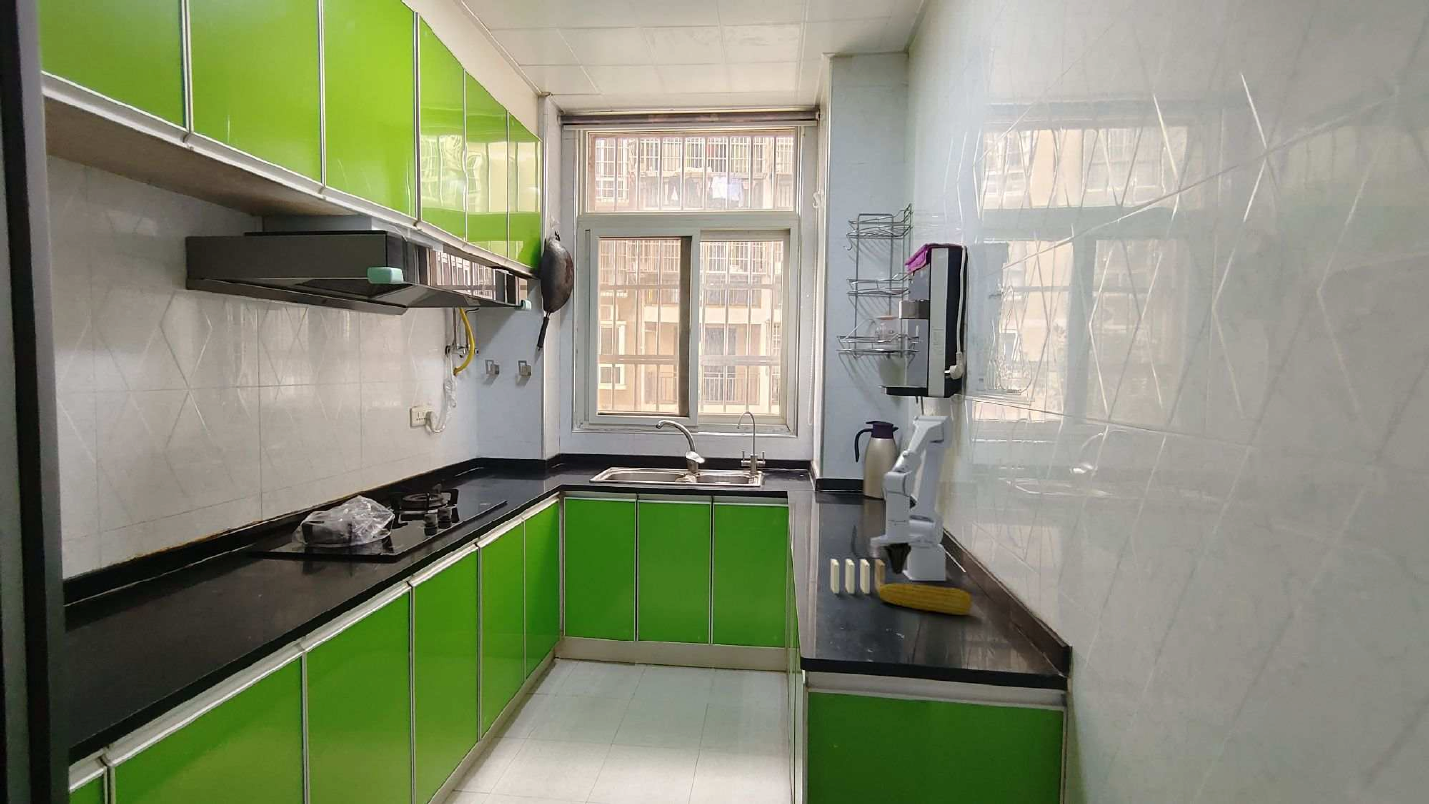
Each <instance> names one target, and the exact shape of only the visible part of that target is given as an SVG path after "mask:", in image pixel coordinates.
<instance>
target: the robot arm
mask: <svg viewBox="0 0 1429 804" xmlns="http://www.w3.org/2000/svg"><path fill="white" fill-rule="evenodd" d="M911 429H912V438H911V440H910V443H909V445H908V448H907V450H903V451H902V452H901V453H900V455H899V457H898V458H897V460H896V461H895V464H894V466H893V468H892V469H891V470H890V471H888V472H886V473H885V474H884V475H883V477H882V478H883V479H882V483H881V486H882V491H883V496H884V497H883V499H884V501H885V502H886V503H885V506H886V507H885V534H883V535H880V536H877V537H870V546H871V547H873V548H879V547H883V549H884V550H885V552H886V555H887V557H888V559H889V563H890V566H891V571H892V573H894V574H895V575H901V574H902V573H903V574H904V575H905V576H906V578H907V579H909V580H910V581H913V582H914V581H915V582H916V581H922V582H923V581H935V582H937V581H938V582H940V581H943V582H945V581H947V578H946V561H947V560H946V558H947V557H946V556H947V555H946V550H945V548H944V546H943V544H940V543H942V540H943V536H944V519H943V516H942V515H941V514H939V513H938V512H937V510H935V508H936V504H937V503H936V502H937V497H938V491H939V486H940V480H941V474H942V468H943V463H944V457H945V454H946V451H947V450H949V449H951V447H952V444H953V440H954V434H955V425H954V421H953V419H952V417H951V416H950V415H944V416H943V415H942V416H941V415H926V414H925V415H922V414H916V415H915V416H914V417H913V419H912V423H911ZM924 452H925V455H924V459H923V460H922V457H921V456H922V455H923V453H924ZM922 463H923V466H922V471H921V476H920V480H919V481H920V482H919V486H918V493H917V497H916V503H915V506H913V507H911V504H910V503H911V495H912V494H913V493H914V490H915V483H916V480H917V479H916V475H917V473H918V472H919V470H920V467H921V465H922ZM910 507H911V508H910ZM906 560H907V561H906ZM905 562H907V565H906V566H907V569H906V570H905V569H904V566H905V564H906V563H905ZM903 569H904V570H903Z"/></svg>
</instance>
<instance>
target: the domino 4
mask: <svg viewBox="0 0 1429 804" xmlns="http://www.w3.org/2000/svg"><path fill="white" fill-rule="evenodd" d="M885 575H886V564H885V563H884V562H883V561H882V560H881V559H880V558H879V559H874V589H875V590H876V591H877V592H878V591H879V590H878V589H879V588H880V587H881V586H883V585H886V584H885V583H886V582H885V580H886V579H885V578H886V576H885Z"/></svg>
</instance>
